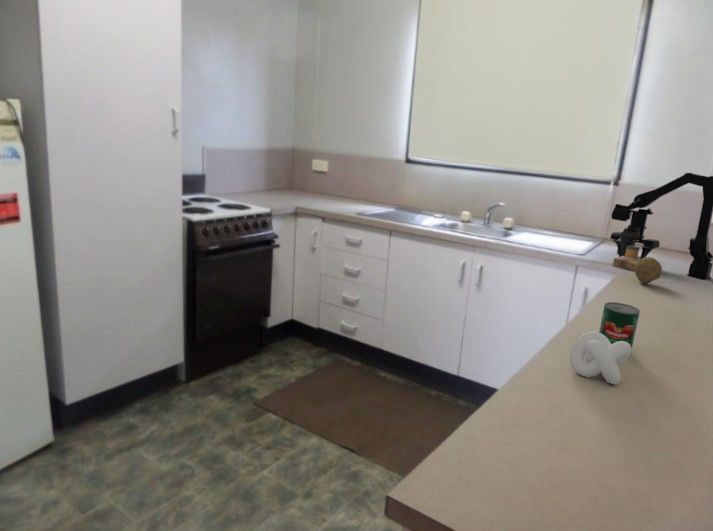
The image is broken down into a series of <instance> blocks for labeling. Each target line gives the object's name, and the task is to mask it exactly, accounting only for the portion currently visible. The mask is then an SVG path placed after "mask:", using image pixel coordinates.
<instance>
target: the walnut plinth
mask: <svg viewBox="0 0 713 531" xmlns="http://www.w3.org/2000/svg"><path fill="white" fill-rule="evenodd" d="M638 260H639V258H637V259H634V258H630V257H624V256H622V257H616V258H613V262H612V266H614V267H617V268H621V269H625V270H628V271H632V272H635V264H636V262H637V261H638Z"/></svg>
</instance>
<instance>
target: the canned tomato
mask: <svg viewBox="0 0 713 531" xmlns="http://www.w3.org/2000/svg"><path fill="white" fill-rule="evenodd" d="M640 312H641V311H640V309H639V308H638V307H636V306H633V305H629V304H626V303H622V302H613V301H610V302H605V303H604V308H603V311H602V317H601V322H600V327H599V331H598V332H599V333H601V334H603V335H604V336H606V337H607V338H608V340H609V341H610V343H611V345H612V344H613V343H615V342H619V341H625V342H628V343H629V344H630V345H631V349H632V350H633V344H634V340H635V337H636V336H635V335H636V331H637V328H638V327H637V326H638V321H639V317H640Z"/></svg>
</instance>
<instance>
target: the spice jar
mask: <svg viewBox="0 0 713 531" xmlns="http://www.w3.org/2000/svg"><path fill="white" fill-rule="evenodd" d="M640 249H641V247H640V246H636V245H635V246H631V245H627V246H626V251H625V256H624V255H623V257H630V258H634V259H639V258H638V257H639V251H640Z"/></svg>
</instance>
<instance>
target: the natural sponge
mask: <svg viewBox="0 0 713 531" xmlns="http://www.w3.org/2000/svg"><path fill="white" fill-rule="evenodd" d="M634 272H635V273H634V274H635V276H636V278H637V280H638V281H639V283H641V284H643V285H648V284H650V283H651V282H654V281H655V280H658V279H659V278H660V277H661V276H662V274H663V269H662V265H661V263H660V262H659V261H658V260H657V259H655V258H654V257H651V256H649V257H648V256H646V257H645V258H642V259H640V258H639V259H638V261H637V262H636V264H635V271H634Z"/></svg>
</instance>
